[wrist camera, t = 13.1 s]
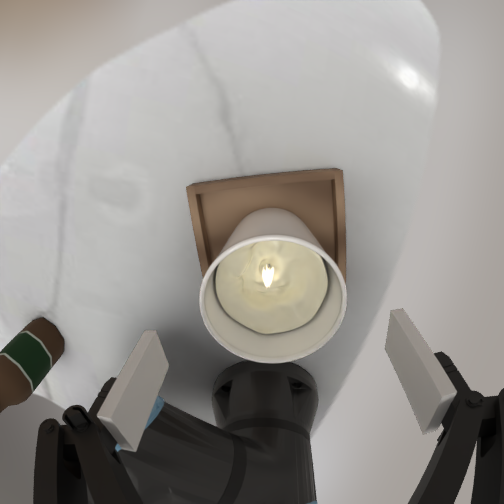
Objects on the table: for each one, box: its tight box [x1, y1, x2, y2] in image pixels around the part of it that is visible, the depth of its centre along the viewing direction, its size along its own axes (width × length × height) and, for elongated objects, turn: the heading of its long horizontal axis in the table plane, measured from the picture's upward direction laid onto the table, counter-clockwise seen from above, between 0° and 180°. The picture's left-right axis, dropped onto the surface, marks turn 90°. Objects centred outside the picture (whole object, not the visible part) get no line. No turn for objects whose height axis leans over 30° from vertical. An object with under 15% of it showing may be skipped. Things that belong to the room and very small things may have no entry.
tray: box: [186, 168, 346, 284], centre depth 29 cm, size 15×15×2 cm
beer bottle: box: [0, 318, 64, 413], centre depth 27 cm, size 8×8×24 cm
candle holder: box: [199, 208, 347, 363], centre depth 24 cm, size 10×10×12 cm
